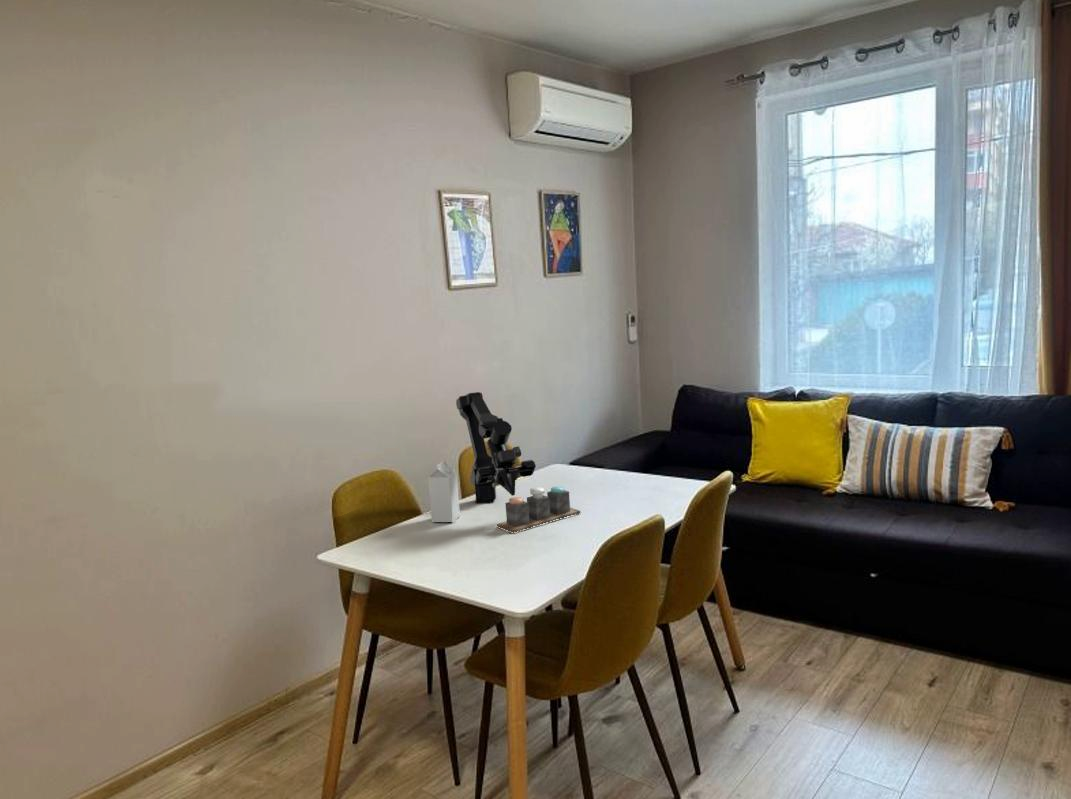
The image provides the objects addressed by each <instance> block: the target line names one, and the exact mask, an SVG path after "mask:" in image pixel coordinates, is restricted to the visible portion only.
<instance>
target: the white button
mask: <svg viewBox="0 0 1071 799" xmlns="http://www.w3.org/2000/svg"><path fill="white" fill-rule="evenodd" d="M529 491H530V495H531V496H533V498H534V499H540V498H543V495H544V494H545V488H544V487H537V486H536V487H532V488H530V489H529Z"/></svg>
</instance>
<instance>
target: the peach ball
mask: <svg viewBox="0 0 1071 799" xmlns="http://www.w3.org/2000/svg"><path fill="white" fill-rule="evenodd" d="M508 502H509V504H510V505H520V504H523V503H524V502H525V501H524V498H523V497H522V496H515V497H514V496H513V497H510V498H509V499H508Z"/></svg>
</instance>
